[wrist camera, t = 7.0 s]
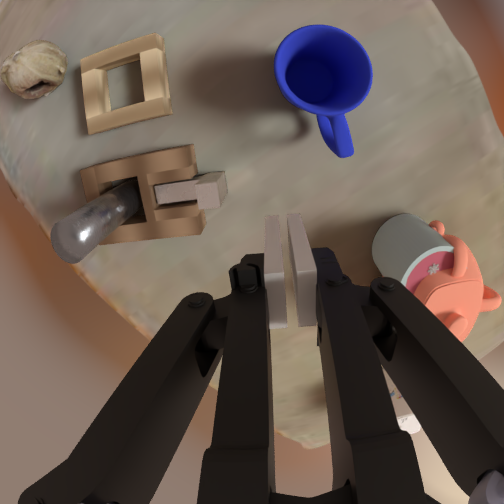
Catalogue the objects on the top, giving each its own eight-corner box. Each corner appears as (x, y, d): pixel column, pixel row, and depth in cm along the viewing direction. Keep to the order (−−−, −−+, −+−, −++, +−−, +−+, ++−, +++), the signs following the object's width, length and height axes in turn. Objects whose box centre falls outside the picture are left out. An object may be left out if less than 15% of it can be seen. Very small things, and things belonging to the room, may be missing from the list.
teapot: (405, 331, 43) (434, 392, 31) (335, 282, 40) (358, 351, 27) (471, 260, 37) (519, 308, 25) (412, 192, 33) (471, 231, 21)
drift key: (224, 171, 34) (216, 182, 28) (227, 192, 35) (220, 207, 29) (160, 180, 34) (141, 192, 29) (164, 200, 35) (147, 216, 30)
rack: (92, 62, 28) (80, 59, 25) (163, 38, 27) (155, 32, 24) (100, 132, 32) (88, 134, 29) (172, 114, 31) (164, 114, 28)
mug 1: (293, 155, 33) (303, 170, 24) (262, 58, 28) (260, 35, 19) (360, 139, 31) (393, 150, 22) (331, 43, 26) (355, 18, 17)
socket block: (193, 143, 32) (185, 147, 29) (206, 223, 37) (200, 234, 34) (94, 165, 34) (79, 170, 31) (110, 234, 38) (99, 245, 35)
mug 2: (379, 209, 35) (412, 242, 26) (437, 218, 35) (477, 249, 26) (357, 300, 41) (376, 348, 32) (411, 302, 41) (436, 344, 32)
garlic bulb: (42, 82, 30) (-13, 87, 22) (63, 33, 26) (5, 30, 17) (64, 110, 30) (0, 117, 21) (88, 54, 25) (20, 50, 17)
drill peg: (116, 182, 35) (45, 224, 21) (143, 177, 34) (77, 218, 21) (123, 211, 36) (59, 264, 23) (150, 207, 36) (90, 262, 23)
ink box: (403, 388, 50) (419, 433, 39) (365, 396, 51) (377, 444, 40) (411, 360, 46) (432, 408, 36) (370, 370, 47) (385, 421, 37)
